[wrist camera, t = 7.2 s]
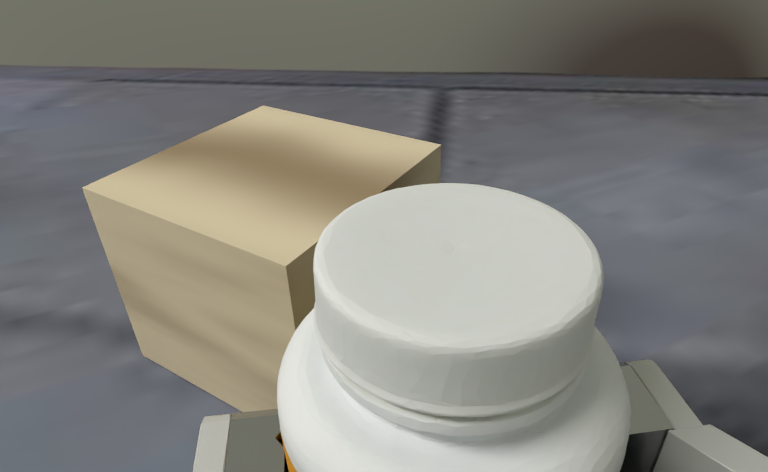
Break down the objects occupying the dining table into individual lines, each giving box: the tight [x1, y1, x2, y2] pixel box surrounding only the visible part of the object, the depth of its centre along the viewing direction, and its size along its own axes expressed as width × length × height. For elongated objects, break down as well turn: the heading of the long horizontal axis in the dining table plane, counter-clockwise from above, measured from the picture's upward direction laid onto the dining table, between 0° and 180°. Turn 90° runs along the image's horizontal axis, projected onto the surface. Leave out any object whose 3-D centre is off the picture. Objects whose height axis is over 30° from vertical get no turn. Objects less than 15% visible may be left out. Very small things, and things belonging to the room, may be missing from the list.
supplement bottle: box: [277, 183, 631, 472], centre depth 10 cm, size 6×6×10 cm
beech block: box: [82, 106, 441, 412], centre depth 20 cm, size 8×8×7 cm
